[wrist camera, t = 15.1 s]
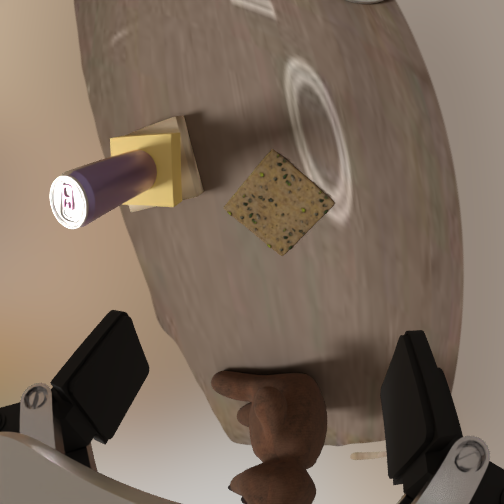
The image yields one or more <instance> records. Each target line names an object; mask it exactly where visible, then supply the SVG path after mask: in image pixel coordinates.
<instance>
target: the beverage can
mask: <svg viewBox="0 0 504 504" xmlns="http://www.w3.org/2000/svg"><path fill="white" fill-rule="evenodd" d="M156 176H157V168H156V164H155V162H154V160H153V158H152V157H151V156H150V155H149V154H148V153H146V152H145V151H142V150H133V151H130V152H126V153H122V154H119V155H116V156H112V157H109V158H106V159H103V160H99V161H96V162H93V163H90V164H87V165H84V166H81V167H78V168H75V169H72V170H69V171H67V172H65V173H64V174H62V175H61V176H59V177H57V178H56V179H55V180H54V182H53V183H52V186H51V189H50V204H51V208H52V211H53V213H54V215H55V217H56V218H57V220H58V221H59V222H60V223H61V224H62V225H63V226H65V227H67V228H69V229H76V228H79V227H83V226H86V225H87V224H89V223H91V222H92V221H94V220H96V219H97V218H99V217H101V216H102V215H104V214H106V213H107V212H109V211H111V210H112V209H114V208H116V207H118V206H120V205H121V204H123V203H125V202H127V201H128V200H130V199H132V198H134V197H136V196H138V195H139V194H141V193H143V192H145V191H147V190H148V189H150V188H151V187H152V186H153V184H154V182H155V180H156Z"/></svg>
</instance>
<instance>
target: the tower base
mask: <svg viewBox="0 0 504 504" xmlns="http://www.w3.org/2000/svg"><path fill="white" fill-rule="evenodd" d="M157 133H180V141H181V185H182V200H185V199H189V198H194V197H197V196H199V195H200V194H201V193H203V192H204V190H203V186H202V183H201V179H200V175H199V172H198V168H197V164H196V160H195V157H194V153H193V149H192V145H191V141H190V138H189V134H188V130H187V126H186V122H185V118H184V116H175V117H172V118H169V119H166V120H164V121H161V122H158V123H155V124H153V125H150V126H147V127H145V128H142V129H140V130H137V131H135V132H132V133H130V134H127V135H125V136H128V135H141V134H157ZM151 207H155V206H146V205H129V208H130V211H131V212H135V211H139V210H143V209H147V208H151Z"/></svg>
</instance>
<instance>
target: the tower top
mask: <svg viewBox="0 0 504 504" xmlns="http://www.w3.org/2000/svg"><path fill="white" fill-rule="evenodd" d="M110 146H111V157H112V156H116V155H119V154H122V153H126V152H130V151H133V150H142V151H145V152H146V153H148V154H149V155H150V156H151V157H152V158H153V160H154V162H155V164H156V168H157V176H156V180H155V182H154V184H153V186H152V187H151V188H150V189H148V190H147V191H145V192H143V193H141V194H139V195H138V196H136V197H134V198H132V199H130V200H128V201H127V202H125V203H123V204H126V205H146V206H164V207H174V206H176V205H177V204H179V203H180V202H181V201H182V185H181V141H180V133H157V134H141V135H128V136H120V137H115V138H110Z"/></svg>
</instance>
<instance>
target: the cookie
mask: <svg viewBox="0 0 504 504" xmlns="http://www.w3.org/2000/svg"><path fill="white" fill-rule="evenodd" d="M333 205H334V202H333V200H331V198H330V197H329V196H327V195H326V194H325V193H324V192H323V191H322V190H320V189H319V188H318V187H317V186H316V185H315V184H314V183H313V182H312V181H310V180H309V179H308V178H307V177H306V176H305V175H303V174H302V173H301V172H300V171H299V170H298V169H296V168H295V167H294V166H293V165H292V164H291V163H290V162H289V161H288V160H286V159H285V158H284V157H282V156H281V155H280V154H278V153H277V152H276V151H275V150H274V149H272V150H271V151H270V152H269V153H268V154H267V155H266V156H265V158H264V159H263V160H262V161H261V162H260V164H259V165H258V166H257V167H256V168H255V169H254V171H253V172H252V173H251V175H250V176H249V177H248V178H247V180H246V181H245V182H244V183H243V184H242V186H241V187H240V188H239V189H238V191H237V192H236V193H235V194H234V195H233V196H232V198H231V199H230V200H229V202H228V203H227V204H226V205H225V206H224V209H225V210H226V211H227V212H228V213H229V214H230V215H231V216H233V217H234V218H235V219H237V220H238V221H239V222H240V223H242V224H243V225H245V226H246V227H247V228H248V229H249V230H250V231H252V232H253V233H254V234H255V235H256V236H257V237H259V238H260V239H261V240H262V241H264V242H265V243H266V244H267V246H268V247H270V248H272V249H273V250H275V251H276V252H277V253H278V254H280V255H281V256H283V255H284V254H286V252H287V251H288V250H290V249H291V248H292V246H293V245H295V244H296V243H297V242H298V240H299V239H300V238H301V237H302V236H303V235H305V233H307V231H308V230H309V229H310V228H312V226H313V225H314V224H315V223H316V222H317V221H318V220H319V219H320V218H321V217H322V216H323V215H324V214H326V213H327V211H328V210H329V209H330V208H331V207H332V206H333Z"/></svg>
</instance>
